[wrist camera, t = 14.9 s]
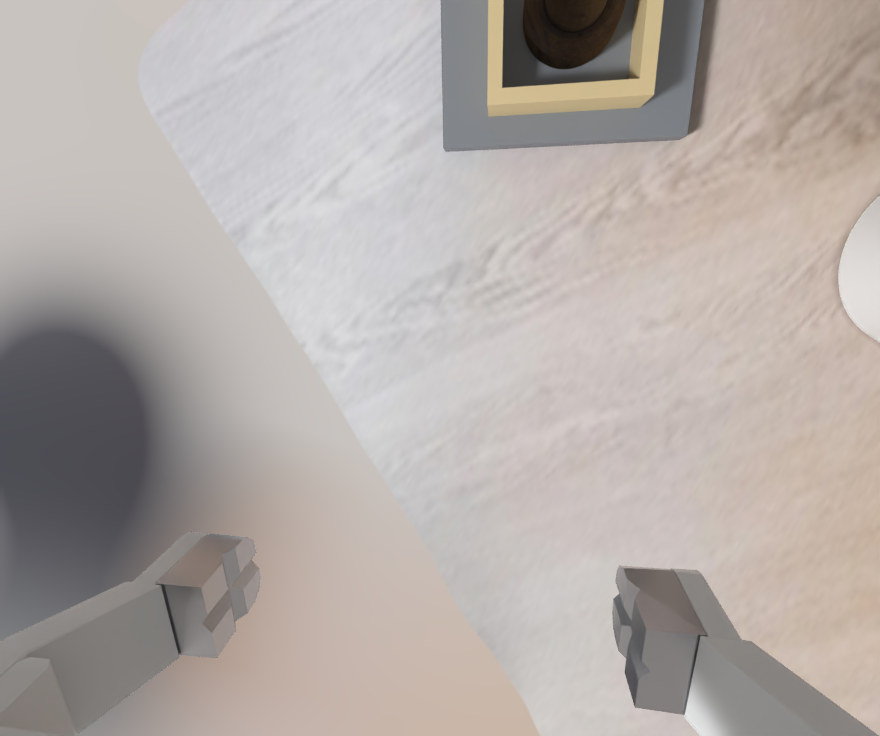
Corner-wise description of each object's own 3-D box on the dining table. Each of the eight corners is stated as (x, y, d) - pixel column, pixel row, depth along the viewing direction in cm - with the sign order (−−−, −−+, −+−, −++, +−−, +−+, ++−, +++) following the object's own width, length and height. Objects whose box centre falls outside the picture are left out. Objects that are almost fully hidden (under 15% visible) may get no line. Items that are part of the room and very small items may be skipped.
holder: (712, -130, 28) (749, -195, 24) (679, 139, 33) (705, 125, 29) (441, -96, 31) (432, -149, 27) (445, 151, 35) (438, 139, 31)
